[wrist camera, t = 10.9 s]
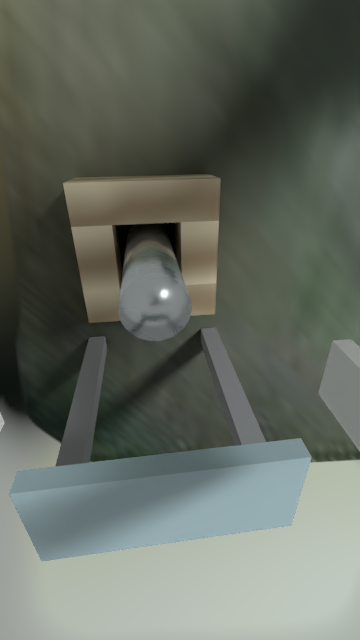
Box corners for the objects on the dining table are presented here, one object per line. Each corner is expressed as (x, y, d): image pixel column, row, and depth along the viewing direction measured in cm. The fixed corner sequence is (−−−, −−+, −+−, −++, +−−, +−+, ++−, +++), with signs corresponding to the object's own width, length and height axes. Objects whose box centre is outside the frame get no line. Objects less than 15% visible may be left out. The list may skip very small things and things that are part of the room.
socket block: (74, 177, 27) (62, 183, 23) (208, 174, 28) (220, 178, 24) (95, 300, 33) (89, 322, 29) (205, 292, 34) (214, 313, 30)
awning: (81, 301, 33) (8, 494, 14) (218, 292, 34) (311, 457, 16) (90, 351, 36) (41, 561, 18) (215, 340, 37) (291, 525, 19)
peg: (124, 221, 29) (114, 278, 16) (168, 219, 30) (191, 273, 17) (128, 263, 31) (122, 343, 18) (169, 261, 32) (191, 338, 19)
